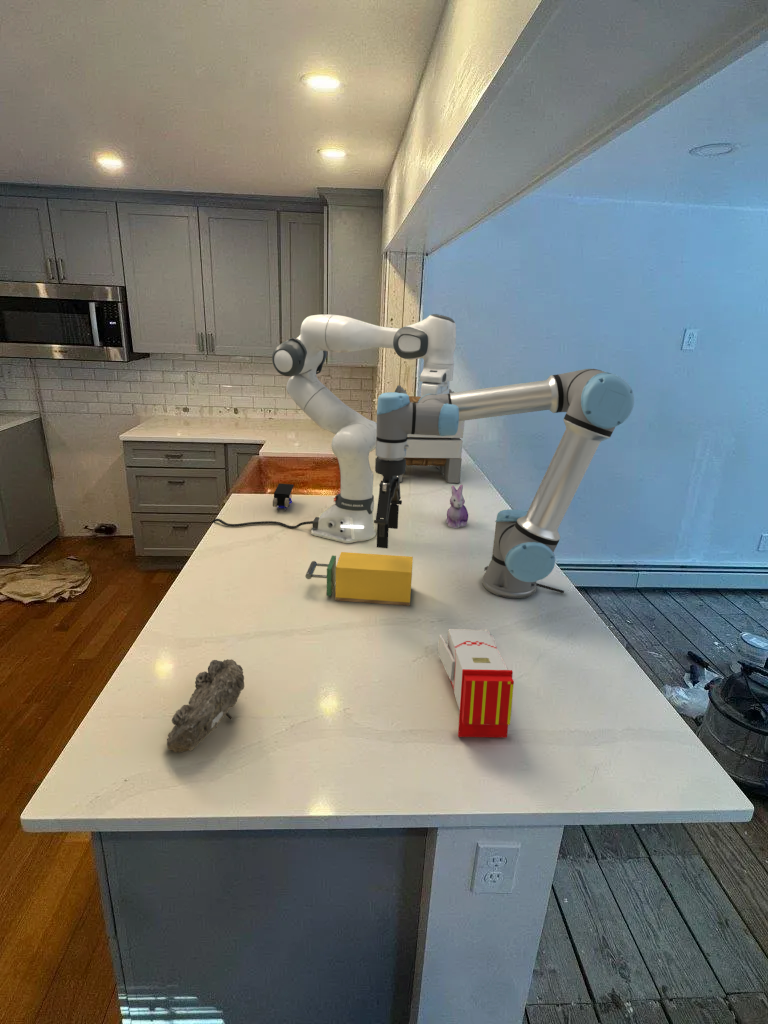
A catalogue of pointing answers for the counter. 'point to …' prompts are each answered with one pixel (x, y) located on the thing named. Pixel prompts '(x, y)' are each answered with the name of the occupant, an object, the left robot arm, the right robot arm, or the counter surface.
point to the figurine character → (282, 496)
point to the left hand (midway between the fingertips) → (434, 420)
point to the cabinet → (374, 578)
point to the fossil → (206, 705)
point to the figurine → (457, 509)
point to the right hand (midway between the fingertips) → (387, 537)
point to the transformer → (435, 449)
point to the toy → (478, 682)
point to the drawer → (330, 575)
